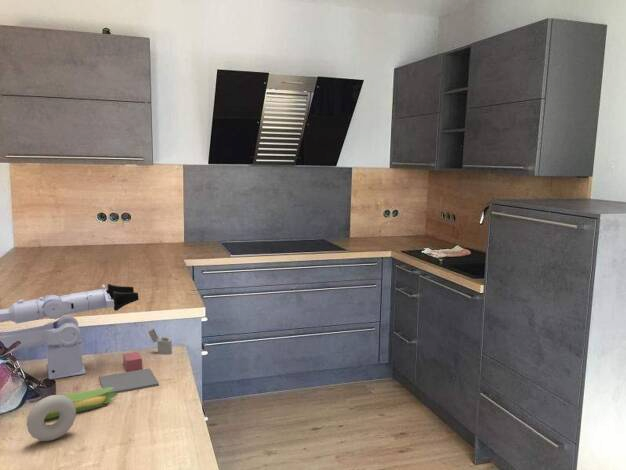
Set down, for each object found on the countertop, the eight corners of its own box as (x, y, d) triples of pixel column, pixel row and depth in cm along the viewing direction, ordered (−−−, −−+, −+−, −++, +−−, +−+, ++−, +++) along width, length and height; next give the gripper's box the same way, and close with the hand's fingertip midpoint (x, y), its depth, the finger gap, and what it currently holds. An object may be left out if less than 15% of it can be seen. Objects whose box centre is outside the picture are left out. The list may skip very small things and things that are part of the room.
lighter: (171, 352, 167) (171, 328, 166) (170, 354, 165) (169, 330, 164) (150, 351, 167) (149, 328, 166) (148, 353, 166) (148, 329, 165)
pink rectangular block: (126, 372, 151) (126, 361, 150) (123, 365, 156) (122, 354, 156) (142, 369, 153) (142, 358, 152) (138, 362, 158) (138, 351, 158)
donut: (73, 428, 118) (71, 387, 117) (79, 434, 115) (77, 392, 114) (25, 444, 111) (23, 400, 110) (30, 450, 108) (28, 405, 107)
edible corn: (30, 399, 123) (32, 401, 119) (116, 383, 134) (121, 384, 131) (31, 421, 122) (33, 424, 118) (118, 403, 134) (122, 405, 130)
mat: (104, 395, 135) (104, 393, 135) (99, 378, 145) (99, 376, 145) (158, 385, 142) (158, 383, 142) (149, 370, 152) (149, 368, 152)
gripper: (88, 293, 143) (139, 285, 149) (83, 282, 155) (130, 275, 162) (91, 317, 144) (141, 309, 151) (86, 304, 157) (132, 297, 163)
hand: (135, 293), depth 156 cm, fingers open, 7 cm apart
